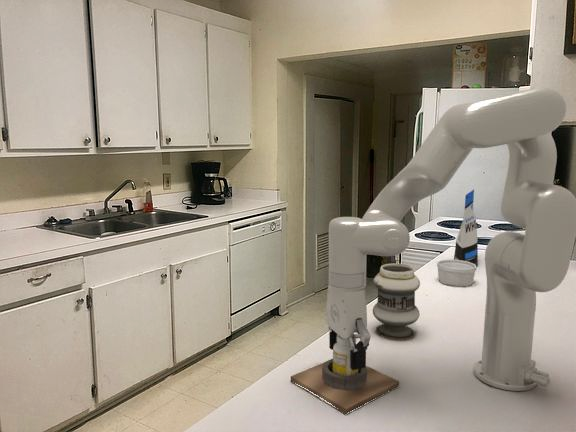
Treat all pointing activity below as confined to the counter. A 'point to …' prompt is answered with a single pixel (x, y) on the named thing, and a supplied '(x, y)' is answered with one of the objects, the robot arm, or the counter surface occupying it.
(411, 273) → the apothecary jar
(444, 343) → the counter surface
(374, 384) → the stand board
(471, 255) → the protein powder
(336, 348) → the supplement bottle
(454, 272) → the ramekin
